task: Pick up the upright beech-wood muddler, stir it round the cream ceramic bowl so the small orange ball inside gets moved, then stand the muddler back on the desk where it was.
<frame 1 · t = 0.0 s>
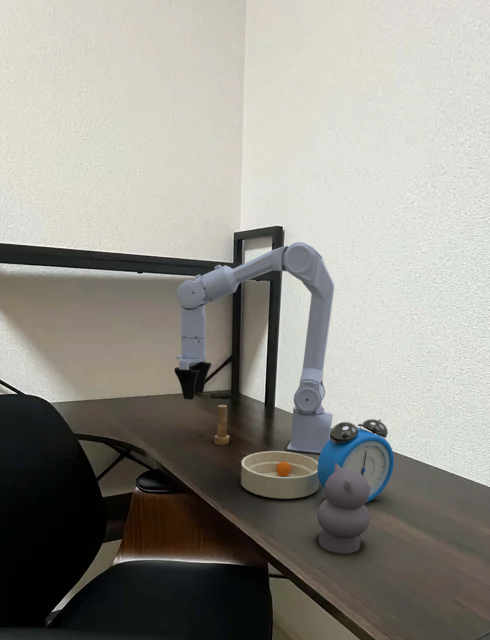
hand: (193, 395, 125), 10 cm above the table, tool pointing down, fingers open, 7 cm apart
ball: (283, 469, 104), point 2 cm above the table, touching bowl
cat figurine: (339, 544, 80), on the table
bowl: (279, 485, 101), on the table
muddler: (221, 442, 125), on the table
alarm clock: (350, 500, 96), on the table
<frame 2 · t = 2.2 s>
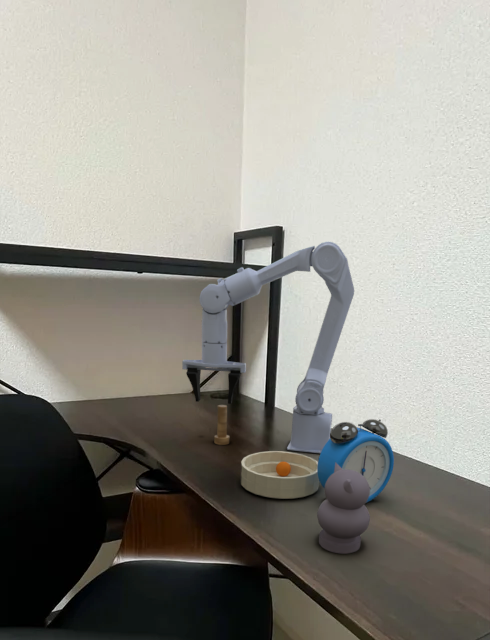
hand: (214, 401, 122), 10 cm above the table, tool pointing down, fingers open, 7 cm apart
nothing on the table moved.
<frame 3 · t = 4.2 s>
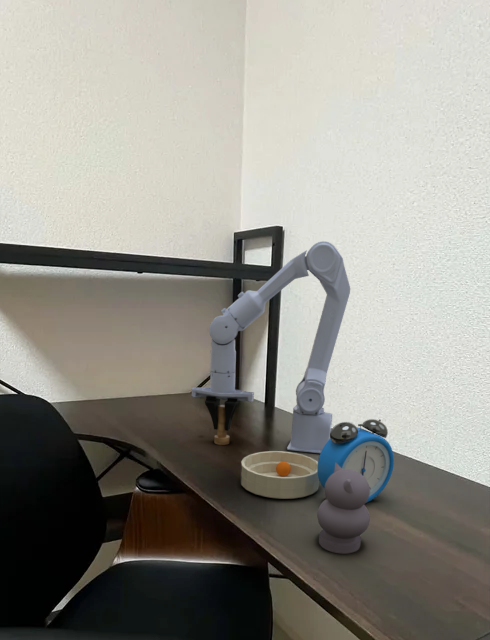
hand: (222, 429, 124), 3 cm above the table, tool pointing down, fingers closed on muddler, 2 cm apart
muddler: (221, 442, 125), on the table, touching gripper
everything else where it was.
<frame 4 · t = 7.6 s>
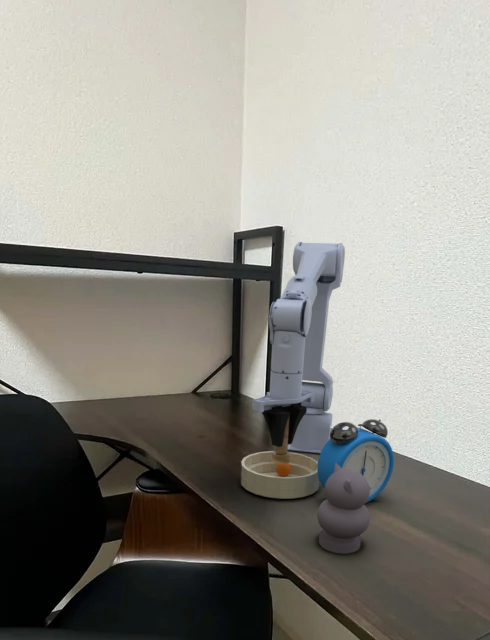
hand: (282, 444, 98), 8 cm above the table, tool pointing down, fingers closed on muddler, 2 cm apart
muddler: (280, 461, 99), point 5 cm above the table, touching gripper
everything else where it was.
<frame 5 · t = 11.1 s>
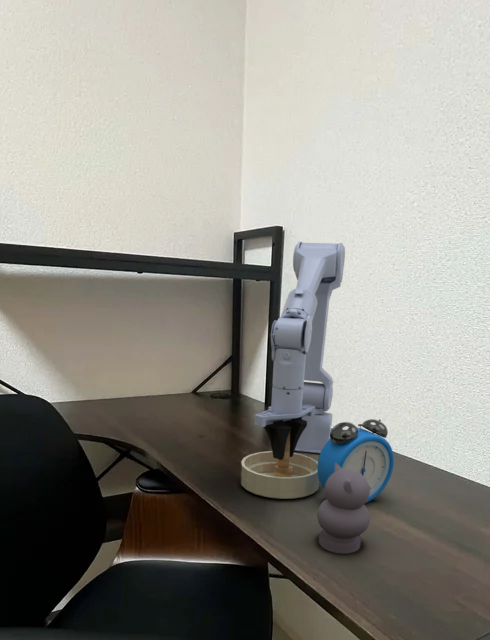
hand: (283, 456, 101), 5 cm above the table, tool pointing down, fingers closed on muddler, 2 cm apart
ball: (281, 468, 104), point 2 cm above the table, tilted 20°, touching bowl, muddler
muddler: (283, 474, 101), point 2 cm above the table, tilted 5°, touching ball, gripper
everything else where it was.
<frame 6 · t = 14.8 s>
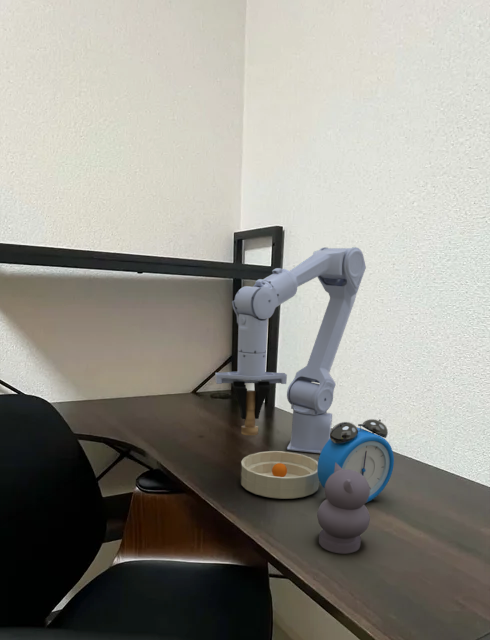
hand: (249, 417, 109), 10 cm above the table, tool pointing down, fingers closed on muddler, 2 cm apart
ball: (279, 470, 103), point 2 cm above the table, tilted 47°, touching bowl
muddler: (249, 433, 110), point 7 cm above the table, tilted 7°, touching gripper
everything else where it was.
when the fingers open (3 cm above the table, at t = 17.6 s): muddler stays where it is, on the table.
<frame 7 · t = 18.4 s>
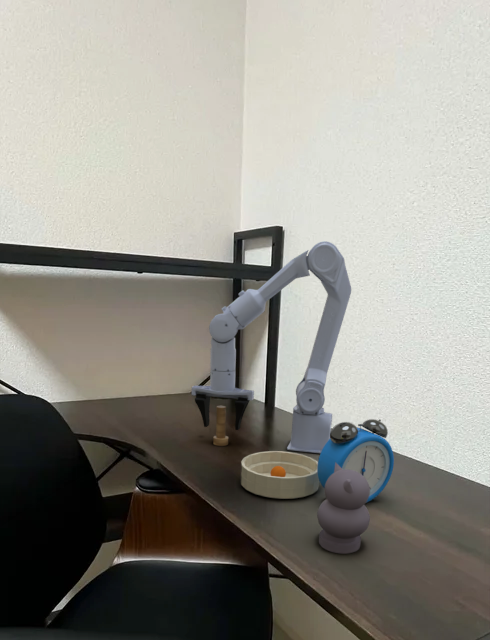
hand: (222, 427, 123), 4 cm above the table, tool pointing down, fingers open, 7 cm apart
ball: (278, 473, 101), point 2 cm above the table, tilted 111°, touching bowl
muddler: (220, 443, 124), on the table
everything else where it was.
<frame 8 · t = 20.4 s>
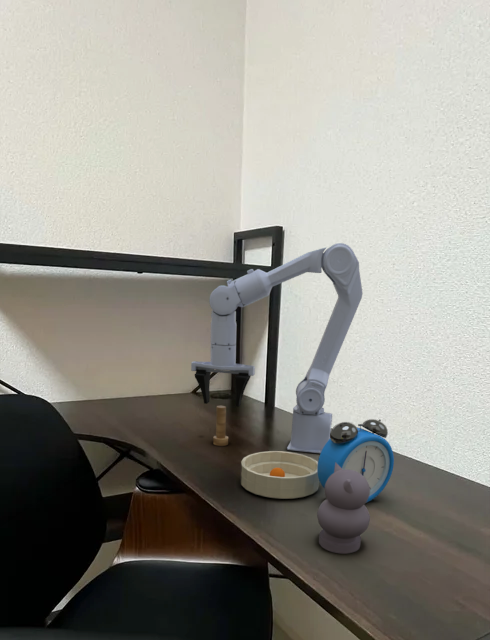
hand: (222, 404, 121), 9 cm above the table, tool pointing down, fingers open, 7 cm apart
ball: (277, 475, 101), point 2 cm above the table, tilted 146°, touching bowl
everything else where it was.
at the end: ball moved 4.0 cm from its start; ball inside the target area in the bowl (0.6 cm from its centre), point 2.0 cm above the bowl's base; muddler inside the target area (0.8 cm from its centre), on the table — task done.
